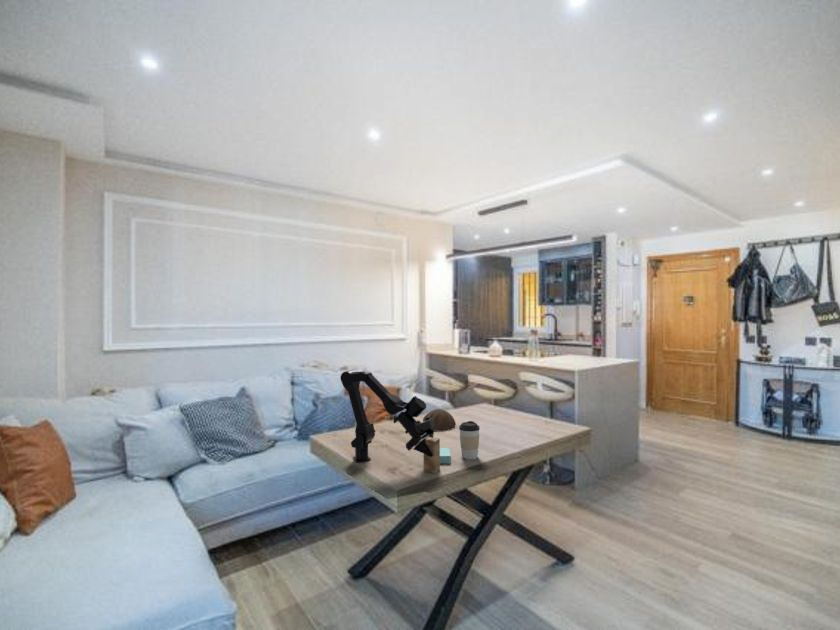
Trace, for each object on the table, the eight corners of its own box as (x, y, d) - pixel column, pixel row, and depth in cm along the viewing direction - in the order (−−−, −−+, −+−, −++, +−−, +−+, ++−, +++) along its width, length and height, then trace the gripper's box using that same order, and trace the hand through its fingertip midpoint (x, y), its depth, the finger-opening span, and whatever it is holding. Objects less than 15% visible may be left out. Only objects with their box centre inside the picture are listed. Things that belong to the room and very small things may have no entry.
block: (423, 471, 167) (423, 440, 167) (428, 467, 172) (428, 437, 172) (435, 473, 165) (434, 441, 165) (439, 468, 170) (439, 438, 170)
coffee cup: (477, 461, 178) (476, 426, 178) (456, 458, 181) (456, 424, 181) (482, 454, 186) (481, 421, 186) (462, 452, 190) (462, 419, 190)
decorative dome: (458, 430, 226) (458, 412, 226) (422, 431, 226) (422, 413, 226) (454, 421, 246) (454, 404, 246) (420, 422, 245) (420, 405, 245)
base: (424, 463, 176) (424, 456, 176) (424, 454, 187) (424, 448, 187) (450, 463, 176) (450, 456, 176) (449, 454, 187) (449, 447, 187)
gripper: (412, 416, 162) (439, 448, 157) (431, 407, 178) (455, 435, 174) (394, 434, 165) (420, 466, 160) (415, 423, 182) (438, 452, 177)
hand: (434, 454), depth 168 cm, fingers closed on block, 5 cm apart
